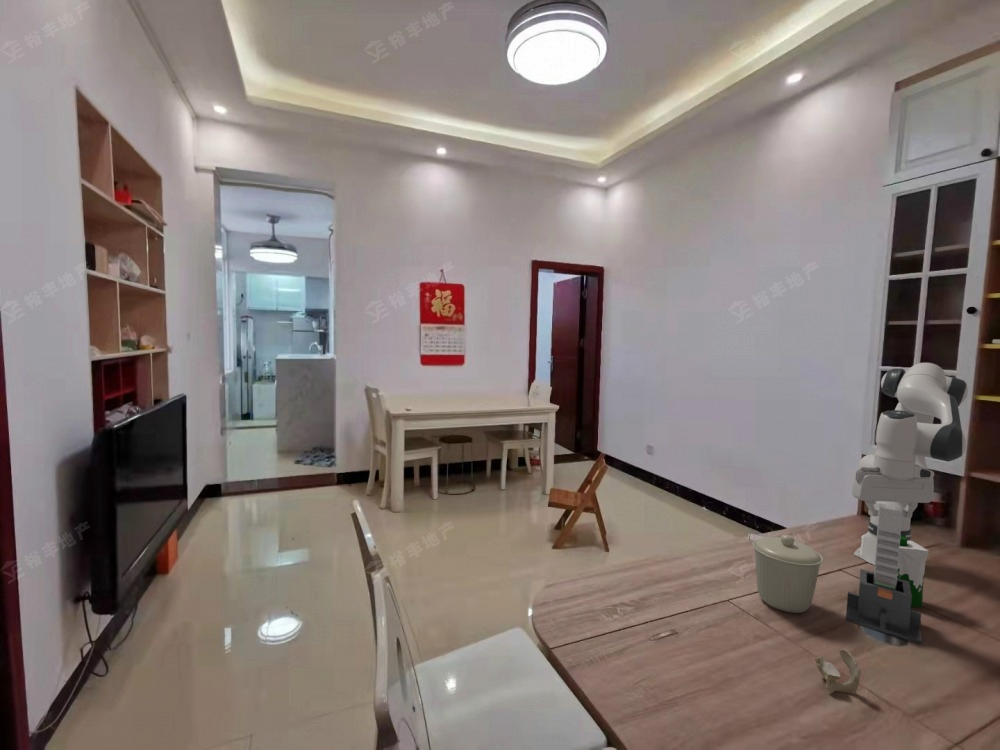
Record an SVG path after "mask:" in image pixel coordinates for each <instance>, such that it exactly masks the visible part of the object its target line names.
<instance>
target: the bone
mask: <svg viewBox="0 0 1000 750" xmlns="http://www.w3.org/2000/svg"><path fill="white" fill-rule="evenodd" d="M838 652H839V655H840V658H841V660H842V661H843V663H845V665H846V666H847V668H848V671H849V679H848V680H847V681H846V682H843V683H840V682H837V680H840V679H841V676H842V675H841V674H840V671H839V670H838V669H837V667H836V666H835V665H834V664H833V663H831V662H828V661H826V659H825V658H824V656H823V655H822V656H821V655H818V656H816V658H814V660H815V663H816V667H817V670H818V672H819V673H820V674H821V676H822V677H823V678H824V679H825V680H826V681H825V689H826V690H828V691H829V692H830V694H833V693H834V691H835V692H843V693H847V694H852V695H856V694H857V691H858V686H859V685H860V678H861V675H862V674H861V669H860V666H859V665H858V663H859V662H858V661H857V659H856V658H855V657H854V656H853V655H852V653H851V652H849V651H848V650H847V649H846V648H842V649H839V651H838ZM823 678H822V679H823ZM824 679H823V680H824Z"/></svg>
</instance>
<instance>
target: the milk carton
mask: <svg viewBox="0 0 1000 750" xmlns="http://www.w3.org/2000/svg"><path fill="white" fill-rule="evenodd" d="M929 553H930V550H928V549H926V548H925V547H924V546H921V545H920V544H918V543H916V542H915V541H913V540H910V541H907V538H906V537H904V536H900V547H899V559H898V571H897V579H901V580H905V581H909V583H910V589H911V595H912V601H911V608H912V607H913V608H921V609H922V608H923V603H924V601H923V600H924V598H923V597H924V580H925V569H926V561H927V560H928V555H929Z"/></svg>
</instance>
